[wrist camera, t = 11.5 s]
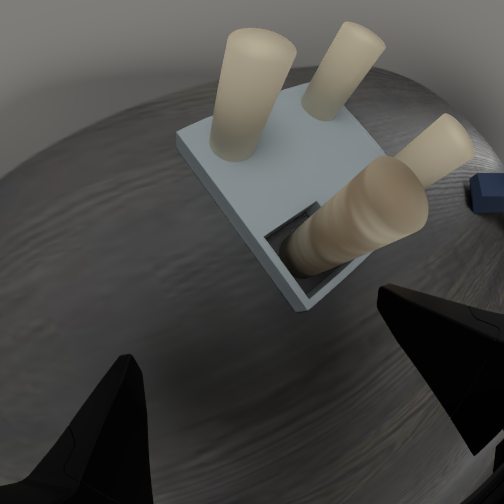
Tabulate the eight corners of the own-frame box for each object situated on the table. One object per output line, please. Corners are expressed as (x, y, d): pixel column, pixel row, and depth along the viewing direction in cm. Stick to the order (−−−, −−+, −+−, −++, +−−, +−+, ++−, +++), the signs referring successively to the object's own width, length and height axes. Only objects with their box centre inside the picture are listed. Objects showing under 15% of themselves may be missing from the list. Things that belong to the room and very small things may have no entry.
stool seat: (406, 210, 28) (490, 159, 16) (295, 312, 23) (405, 295, 10) (310, 93, 30) (356, 14, 17) (176, 148, 24) (179, 29, 12)
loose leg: (330, 258, 25) (437, 204, 12) (300, 288, 23) (408, 249, 11) (301, 224, 25) (390, 144, 12) (269, 252, 23) (352, 178, 11)
